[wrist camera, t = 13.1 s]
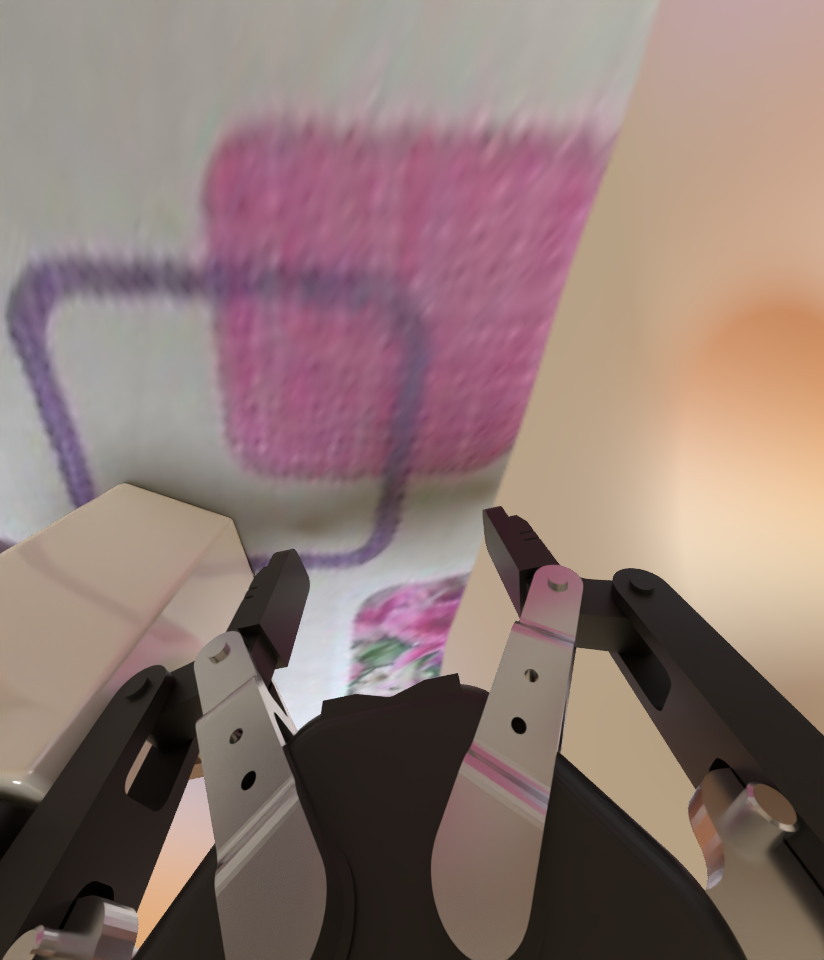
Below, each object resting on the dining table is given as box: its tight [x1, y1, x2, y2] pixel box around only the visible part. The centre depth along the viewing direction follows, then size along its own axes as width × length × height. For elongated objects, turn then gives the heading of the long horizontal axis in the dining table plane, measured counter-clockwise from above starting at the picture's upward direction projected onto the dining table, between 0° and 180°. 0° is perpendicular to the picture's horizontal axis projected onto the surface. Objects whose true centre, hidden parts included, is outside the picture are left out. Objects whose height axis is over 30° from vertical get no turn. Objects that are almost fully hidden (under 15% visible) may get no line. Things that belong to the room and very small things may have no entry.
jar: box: [0, 483, 254, 861], centre depth 10 cm, size 9×8×12 cm
